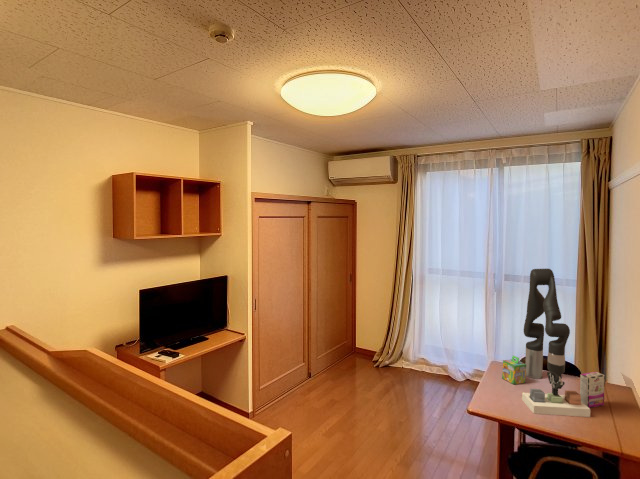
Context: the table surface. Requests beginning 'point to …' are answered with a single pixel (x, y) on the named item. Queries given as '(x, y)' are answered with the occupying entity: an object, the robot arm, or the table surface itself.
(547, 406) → the board
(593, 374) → the candy bar box
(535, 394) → the slate block
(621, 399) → the table surface
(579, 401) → the terracotta block
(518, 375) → the chalk box
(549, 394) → the sage block
